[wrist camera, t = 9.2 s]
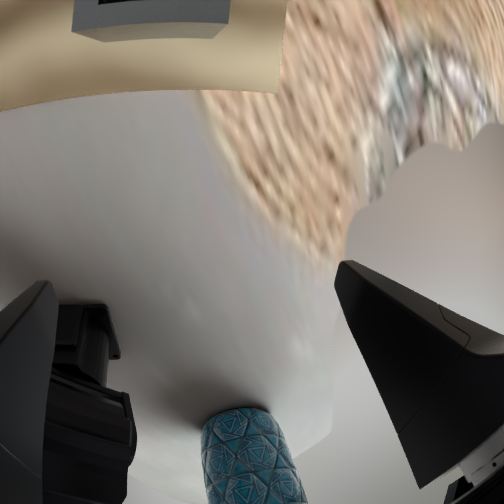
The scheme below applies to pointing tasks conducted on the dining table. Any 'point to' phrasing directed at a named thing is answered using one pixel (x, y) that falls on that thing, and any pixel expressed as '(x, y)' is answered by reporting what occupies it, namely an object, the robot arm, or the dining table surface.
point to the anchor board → (133, 55)
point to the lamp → (248, 460)
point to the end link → (149, 19)
